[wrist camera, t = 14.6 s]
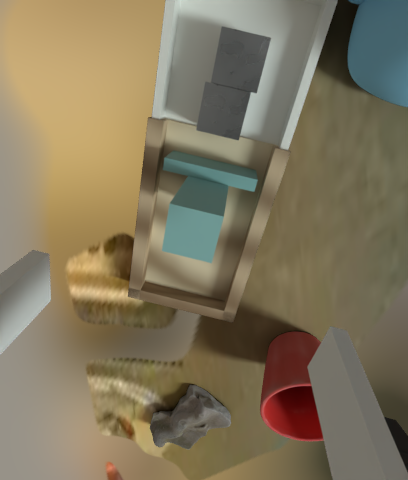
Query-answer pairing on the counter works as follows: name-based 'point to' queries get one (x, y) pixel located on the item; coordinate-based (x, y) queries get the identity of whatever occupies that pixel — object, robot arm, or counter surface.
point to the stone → (189, 419)
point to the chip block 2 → (222, 110)
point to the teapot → (380, 49)
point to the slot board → (232, 230)
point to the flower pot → (290, 388)
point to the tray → (274, 71)
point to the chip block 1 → (240, 59)
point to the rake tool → (200, 203)
